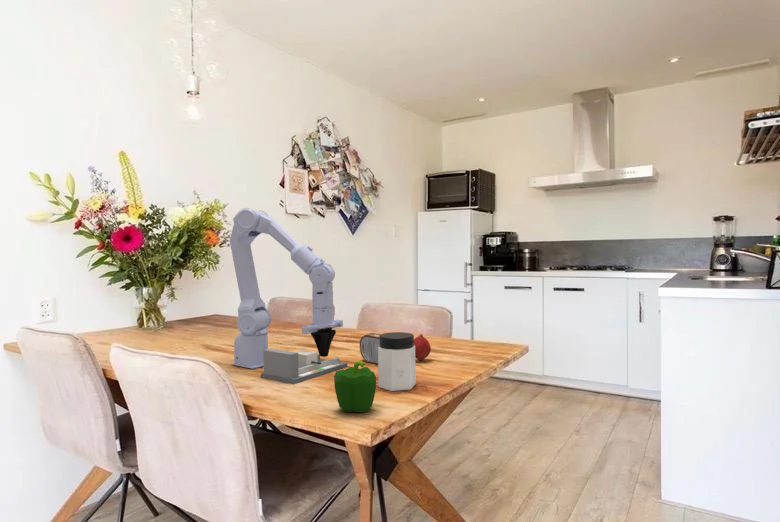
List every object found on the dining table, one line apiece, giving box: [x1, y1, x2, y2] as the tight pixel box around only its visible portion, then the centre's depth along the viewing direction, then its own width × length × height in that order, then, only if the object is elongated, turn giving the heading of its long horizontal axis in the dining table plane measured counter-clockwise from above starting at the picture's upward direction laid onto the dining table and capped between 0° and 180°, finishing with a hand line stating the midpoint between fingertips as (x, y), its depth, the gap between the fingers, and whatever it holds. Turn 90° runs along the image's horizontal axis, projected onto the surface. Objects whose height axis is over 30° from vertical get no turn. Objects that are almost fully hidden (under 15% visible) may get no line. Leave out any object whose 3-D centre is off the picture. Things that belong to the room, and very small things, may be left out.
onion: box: [414, 333, 432, 362], centre depth 133 cm, size 6×6×8 cm
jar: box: [377, 331, 417, 392], centre depth 109 cm, size 9×8×12 cm
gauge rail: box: [260, 348, 348, 385], centre depth 123 cm, size 12×20×7 cm, turn 145°
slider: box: [295, 349, 321, 368], centre depth 122 cm, size 9×4×4 cm, turn 55°
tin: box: [359, 332, 382, 366], centre depth 130 cm, size 15×3×8 cm, turn 45°
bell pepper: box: [333, 360, 377, 413], centre depth 93 cm, size 8×8×10 cm
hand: (323, 356), depth 129 cm, fingers closed
